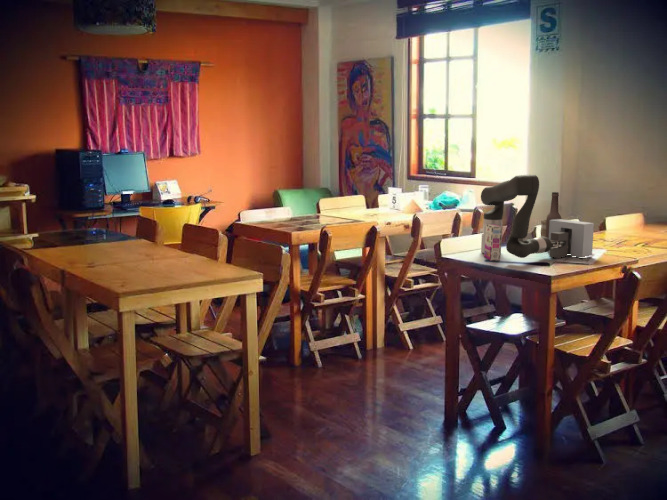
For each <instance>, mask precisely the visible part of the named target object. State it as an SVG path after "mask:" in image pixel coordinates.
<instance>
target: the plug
mask: <svg viewBox="0 0 667 500" xmlns="http://www.w3.org/2000/svg"><path fill="white" fill-rule="evenodd" d="M568 234H569V233H568V232H561V231H560V232H553V233H551V240H553V241H554V240H557V241H566V245H564V247H563V248H552V249H550V254H549V258H553V257H554V259H561V257H562V258H566V257H565V256H567V257H568V255H567V250H568ZM555 243H556V242H555Z"/></svg>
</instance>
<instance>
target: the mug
mask: <svg viewBox="0 0 667 500" xmlns="http://www.w3.org/2000/svg"><path fill="white" fill-rule="evenodd" d="M540 222H541V223H540V225H541V227H540V237H545V235H546V219H541V220H540Z"/></svg>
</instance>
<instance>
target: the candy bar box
mask: <svg viewBox="0 0 667 500" xmlns="http://www.w3.org/2000/svg"><path fill="white" fill-rule="evenodd" d="M501 229H502V230H503V226H502V227H500V226H498V225H495V224H486V232H485V252H484V253H483V254H484V255H483V257H484V258H485V259H487V260H488V261H491V262H499V261H501V253H500V247H501V248H502V238H501Z"/></svg>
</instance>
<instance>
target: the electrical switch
mask: <svg viewBox="0 0 667 500" xmlns="http://www.w3.org/2000/svg"><path fill="white" fill-rule="evenodd" d="M528 239H533V236H532V232H528V234H527V237H526V238H523V239H519V241H521V242H523V241H525V240H528Z"/></svg>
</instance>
